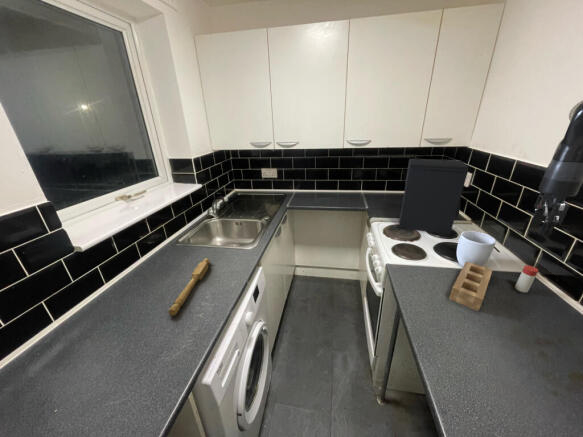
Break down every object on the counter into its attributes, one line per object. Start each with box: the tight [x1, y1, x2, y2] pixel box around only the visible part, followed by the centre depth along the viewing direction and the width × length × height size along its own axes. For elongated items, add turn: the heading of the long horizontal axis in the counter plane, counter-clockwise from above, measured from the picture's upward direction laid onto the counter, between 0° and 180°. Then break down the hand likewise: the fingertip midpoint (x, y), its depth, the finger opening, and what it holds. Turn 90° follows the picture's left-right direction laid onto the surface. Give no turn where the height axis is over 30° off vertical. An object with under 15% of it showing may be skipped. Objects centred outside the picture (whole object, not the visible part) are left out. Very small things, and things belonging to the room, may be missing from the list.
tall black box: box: [398, 157, 469, 236], centre depth 122 cm, size 28×20×35 cm
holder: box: [448, 261, 493, 312], centre depth 81 cm, size 8×20×5 cm, turn 135°
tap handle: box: [167, 258, 211, 316], centre depth 89 cm, size 3×3×30 cm
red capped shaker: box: [514, 265, 539, 293], centre depth 79 cm, size 3×3×9 cm
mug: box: [456, 230, 497, 267], centre depth 93 cm, size 15×11×13 cm
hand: (539, 228), depth 70 cm, fingers open, 8 cm apart
